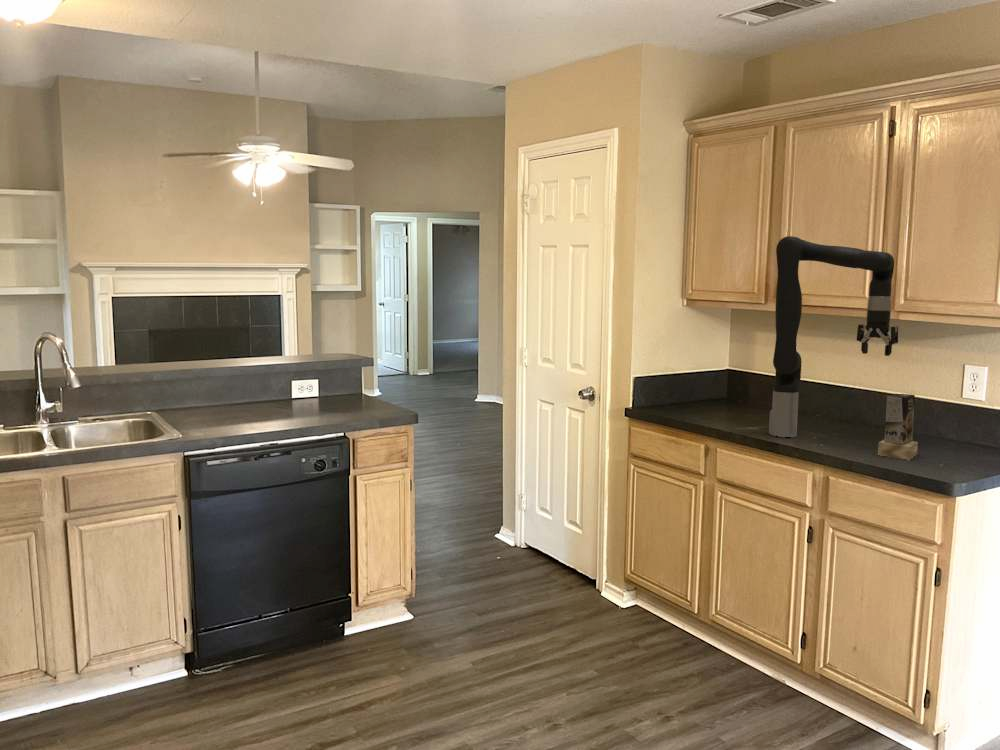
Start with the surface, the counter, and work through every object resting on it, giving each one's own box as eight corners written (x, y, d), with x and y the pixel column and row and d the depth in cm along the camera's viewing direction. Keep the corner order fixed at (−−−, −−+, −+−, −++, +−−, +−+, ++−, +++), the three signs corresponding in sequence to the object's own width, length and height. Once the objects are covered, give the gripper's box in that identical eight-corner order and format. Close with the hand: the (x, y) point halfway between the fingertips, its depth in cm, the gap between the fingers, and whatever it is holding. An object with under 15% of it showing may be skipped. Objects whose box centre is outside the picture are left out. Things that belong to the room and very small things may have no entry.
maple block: (877, 456, 268) (878, 442, 267) (885, 451, 275) (886, 437, 275) (909, 461, 261) (910, 446, 261) (916, 456, 269) (918, 442, 268)
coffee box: (904, 444, 263) (906, 397, 261) (883, 442, 267) (886, 395, 265) (913, 440, 269) (915, 394, 267) (893, 438, 274) (895, 392, 272)
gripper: (854, 308, 281) (851, 353, 283) (892, 310, 269) (888, 357, 271) (866, 308, 285) (863, 352, 287) (904, 309, 273) (901, 355, 275)
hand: (875, 354), depth 279 cm, fingers open, 8 cm apart
